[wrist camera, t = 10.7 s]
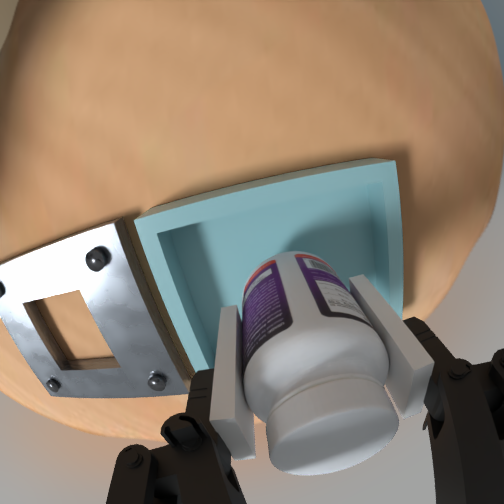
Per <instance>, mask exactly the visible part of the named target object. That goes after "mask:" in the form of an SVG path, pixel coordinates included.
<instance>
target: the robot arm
mask: <svg viewBox="0 0 504 504" xmlns="http://www.w3.org/2000/svg"><path fill="white" fill-rule="evenodd" d="M349 286H350V293H351V295H352V296H353V298H354V299H355V301H356V302H357V304H358V305H359V307H360V308H361V310H362V311H363V313H364V314H365V315H366V317H367V318H368V320H369V321H370V323H371V324H372V326H373V327H374V329H375V330H376V332H377V333H378V335H379V337H380V339H381V340H382V342H383V344H384V346H385V348H386V351H387V354H388V359H389V370H388V376H387V379H386V382H385V384H386V387H387V388H388V390H389V392H390V394H391V396H392V398H393V400H394V402H395V404H396V406H397V408H398V410H399V412H400V414H401V416H402V418H403V419H406V418H408V417H411V416H413V415H415V414H418V413H420V412H421V410H422V407H423V404H425V406H426V408H427V409H428V413H427V415H426V418H425V421H424V424H423V430H425V429H426V426H427V425H428V430H429V437H430V444H431V451H432V459H433V468H434V478H435V490H436V504H504V349H501V350H498V351H497V352H496V353H494V356H493V358H492V360H491V361H490V362H486V363H481V364H477V365H472V364H471V363H469V362H468V361H466V360H464V359H460V358H459V359H456V358H455V357H454V356H453V355H452V354H451V353H450V351H449V350H448V349H447V348H446V347H445V346H444V344H443V343H442V342H441V341H440V340H439V339H438V337H436V336H435V334H434V333H433V332H432V331H431V330H430V328H429V327H428V326H427V325H426V324H425V322H424V321H422V320H420V319H418V318H416V317H411V318H409V319H406V320H403V321H402V320H401V318H400V317H399V316H398V315H397V313H396V312H395V311H394V310H393V309H392V307H391V306H390V305H389V304H388V302H387V301H386V300H385V299H384V298H383V297H382V295H381V294H380V293H379V292H378V291H377V289H376V288H375V287H374V286H373V285H372V284H371V282H370V281H369V280H368V279H367V278H366V277H365V276H364V274H362V275H358V276H354V277H350V278H349ZM189 390H190V392H189V395H188V401H187V406H186V412H185V413H178V414H176V415H173V416H171V417H170V418H169V419H167V420H166V421H165V422H164V424H163V426H162V427H161V435H162V436H163V437H164V439H165V440H166V441H167V442H168V443H169V444H168V445H166V446H163V447H159V448H156V449H152V450H148V449H147V448H146V447H144V446H143V445H138V444H135V445H130V446H128V447H126V448H124V449H123V450H122V451H121V452H120V453H119V455H118V457H117V460H116V464H115V468H114V472H113V476H112V480H111V484H110V488H109V492H108V497H107V501H106V504H247V503H246V501H245V498H244V495H243V493H242V491H241V488H240V485H239V482H238V480H237V477H236V474H235V471H234V469H233V468H232V467H231V456H232V457H233V458H234V460H244V459H253V458H256V454H255V436H254V415H253V412H252V410H251V409H250V407H249V405H248V403H247V401H246V397H245V393H244V386H243V345H242V320H241V317H240V314H239V310H238V307H237V305H232V306H228V307H223V308H221V313H220V322H219V331H218V340H217V349H216V358H215V368H212V369H205V370H198V371H197V372H196V374H195V375H194V377H193V378H192V380H191V384H190V389H189Z"/></svg>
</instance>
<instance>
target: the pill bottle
mask: <svg viewBox="0 0 504 504" xmlns="http://www.w3.org/2000/svg"><path fill="white" fill-rule="evenodd" d="M242 345H243V386H244V393H245V397H246V401H247V403H248V405H249V407H250V409H251V410H252V412H253V413H254V414H255V415H256V416H257V417H258V418H259V419H260V420H262V421H263V422H265V423H266V435H267V441H268V448H269V457H270V460H271V462H272V464H273V465H274V466H275V467H276V468H277V469H279V470H281V471H283V472H287V473H290V474H295V475H319V474H327V473H331V472H336V471H339V470H343V469H346V468H349V467H351V466H354V465H356V464H358V463H360V462H362V461H364V460H366V459H368V458H370V457H371V456H373V455H375V454H376V453H378V452H379V451H380V450H382V449H383V448H384V447H385V446H386V445H387V444H388V443H389V442H390V441H391V440H392V438H393V437H394V435H395V434H396V432H397V430H398V426H399V419H398V415H397V413H396V411H395V409H394V407H393V404H392V402H391V400H390V398H389V397H388V395H387V393H386V391H385V388H384V385H385V382H386V379H387V376H388V370H389V359H388V354H387V351H386V348H385V346H384V344H383V342H382V340H381V339H380V337H379V335H378V333H377V332H376V330H375V329H374V327H373V326H372V324H371V323H370V321H369V320H368V318H367V317H366V315H365V314H364V313H363V311H362V310H361V308H360V307H359V305H358V304H357V302H356V301H355V299H354V298H353V296H352V295H351V293H350V292H349V291H348V289H347V288H346V286H345V285H344V283H343V282H342V281H341V279H340V278H339V277H338V275H337V274H336V272H335V271H334V270H333V269H332V268H331V266H330V265H329V264H328V263H327V262H325V261H324V260H323V259H321V258H320V257H318V256H316V255H314V254H311V253H307V252H301V251H290V252H283V253H279V254H276V255H274V256H272V257H270V258H268V259H266V260H265V261H263V262H262V263H260V264H259V265H258V266H257V267H256V268H255V269H254V270H253V271H252V273H251V274H250V276H249V277H248V279H247V281H246V283H245V286H244V289H243V294H242Z"/></svg>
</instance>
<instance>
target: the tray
mask: <svg viewBox="0 0 504 504" xmlns="http://www.w3.org/2000/svg"><path fill="white" fill-rule="evenodd" d="M134 223H135V226H136V229H137V232H138V235H139V238H140V241H141V243H142V246H143V249H144V252H145V255H146V257H147V260H148V263H149V266H150V268H151V271H152V274H153V276H154V279H155V281H156V284H157V286H158V289H159V291H160V294H161V296H162V299H163V301H164V304H165V306H166V309H167V311H168V313H169V316H170V318H171V320H172V323H173V325H174V327H175V329H176V332H177V334H178V336H179V338H180V341H181V343H182V345H183V347H184V349H185V351H186V354H187V356H188V358H189V360H190V362H191V364H192V366H193V368H194V370H195V372H197V371H198V370H205V369H212V368H215V358H216V349H217V340H218V331H219V322H220V313H221V308H223V307H228V306H232V305H237V307H238V310H239V314H240V317H241V320H242V294H243V289H244V286H245V283H246V281H247V279H248V277H249V276H250V274H251V273H252V271H253V270H254V269H255V268H256V267H257V266H258V265H259V264H260V263H262V262H263V261H265V260H266V259H268V258H270V257H272V256H274V255H276V254H279V253H283V252H290V251H301V252H307V253H311V254H314V255H316V256H318V257H320V258H321V259H323V260H324V261H325V262H327V263H328V264H329V265H330V266H331V268H332V269H333V270H334V271H335V272H336V274H337V275H338V277H339V278H340V279H341V281H342V282H343V283H344V285H345V286H346V288H347V289H348V291H349V292H350V286H349V278H350V277H354V276H358V275H362V274H364V276H365V277H366V278H367V279H368V280H369V281H370V282H371V284H372V285H373V286H374V287H375V288H376V289H377V291H378V292H379V293H380V294H381V295H382V297H383V298H384V299H385V300H386V301H387V302H388V304H389V305H390V306H391V307H392V309H393V310H394V311H395V312H396V313H397V315H398V316H399V317H400V318H401V320H402V311H403V235H402V218H401V205H400V195H399V185H398V177H397V169H396V162H395V161H394V160H387V159H379V158H367V159H360V160H354V161H348V162H342V163H337V164H331V165H326V166H320V167H315V168H310V169H305V170H300V171H295V172H290V173H286V174H281V175H276V176H272V177H267V178H263V179H259V180H254V181H250V182H246V183H242V184H237V185H233V186H229V187H225V188H221V189H217V190H214V191H210V192H206V193H202V194H199V195H195V196H191V197H188V198H184V199H180V200H177V201H173V202H170V203H166V204H163V205H160V206H156V207H153V208H150V209H149V210H147V211H146V212H145V213H143V214H142V215H140V216H139V217H138V218H136V219H135V220H134Z"/></svg>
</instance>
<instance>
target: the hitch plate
mask: <svg viewBox="0 0 504 504" xmlns="http://www.w3.org/2000/svg"><path fill="white" fill-rule="evenodd" d="M78 289H80V291H81V294H82V296H83V298H84V300H85V302H86V304H87V306H88V308H89V310H90V312H91V314H92V316H93V318H94V320H95V322H96V324H97V326H98V328H99V330H100V332H101V333H102V335H103V337H104V339H105V341H106V342H107V344H108V346H109V348H110V349H111V351H112V353H113V355H114V356H115V357H109V358H97V359H84V360H67V359H66V357H65V356H64V354H63V352H62V351H61V349H60V347H59V346H58V344H57V342H56V341H55V339H54V337H53V336H52V334H51V332H50V330H49V328H48V327H47V325H46V323H45V321H44V319H43V317H42V315H41V314H40V312H39V310H38V308H37V306H36V304H35V302H34V300H37V299H41V298H45V297H49V296H53V295H58V294H62V293H66V292H70V291H74V290H78ZM0 317H1V319H2V321H3V323H4V325H5V326H6V328H7V330H8V332H9V334H10V335H11V337H12V339H13V340H14V342H15V344H16V345H17V347H18V349H19V350H20V352H21V354H22V355H23V357H24V358H25V360H26V361H27V363H28V364H29V366H30V367H31V369H32V370H33V372H34V373H35V375H36V376H37V377H38V379H39V380H40V382H41V383H42V384H43V386H44V387H45V388H46V390H47V391H48V392H49V394H50V395H51V396H56V397H75V398H136V397H156V396H169V395H181V394H189V392H190V390H189V389H190V384H191V378H190V376H189V374H188V372H187V370H186V368H185V366H184V364H183V362H182V360H181V358H180V356H179V354H178V352H177V350H176V348H175V346H174V344H173V342H172V340H171V338H170V335H169V333H168V331H167V329H166V327H165V325H164V322H163V320H162V318H161V316H160V313H159V311H158V309H157V306H156V304H155V302H154V299H153V297H152V294H151V292H150V290H149V287H148V285H147V282H146V280H145V277H144V275H143V272H142V269H141V267H140V264H139V261H138V259H137V256H136V253H135V251H134V248H133V245H132V242H131V239H130V237H129V234H128V231H127V228H126V225H125V222H124V219H123V217H121V218H118V219H115V220H112V221H109V222H106V223H103V224H100V225H97V226H94V227H91V228H89V229H86V230H83V231H80V232H77V233H75V234H72V235H69V236H66V237H64V238H61V239H58V240H56V241H53V242H51V243H48V244H45V245H43V246H40V247H38V248H35V249H33V250H30V251H28V252H25V253H23V254H21V255H18V256H16V257H13V258H11V259H9V260H6V261H4V262H2V263H0Z"/></svg>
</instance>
